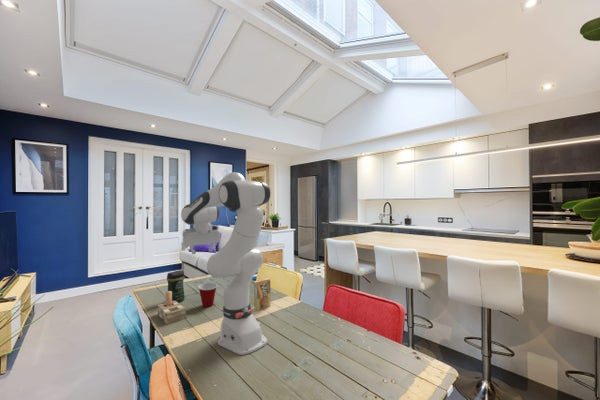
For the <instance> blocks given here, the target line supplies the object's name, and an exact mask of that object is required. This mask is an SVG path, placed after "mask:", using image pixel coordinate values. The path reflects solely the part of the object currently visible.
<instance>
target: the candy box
mask: <svg viewBox="0 0 600 400" xmlns="http://www.w3.org/2000/svg"><path fill="white" fill-rule="evenodd" d="M270 306H271V279H269V278H262V279H259V280H254V281H253V308H254V309H255V310H257V311H258V310H261V309H265V308H267V307H270Z"/></svg>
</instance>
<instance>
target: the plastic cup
mask: <svg viewBox="0 0 600 400" xmlns="http://www.w3.org/2000/svg"><path fill="white" fill-rule="evenodd" d="M197 288H198V290H199V294H200V300H201V305H202V307H203V308H210V307H213V306H214V301H215V296H216V290H217V288H218V284H217V283H216V282H204V283H201V284H199V285H198V286H197Z"/></svg>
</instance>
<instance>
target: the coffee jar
mask: <svg viewBox="0 0 600 400" xmlns="http://www.w3.org/2000/svg"><path fill="white" fill-rule="evenodd" d="M166 280H167V292H168V291H172V301H176V302H178V303H180V302H183V301H185V290H184V280H185V272H184V270H181V269H178V270H175V271H172V272H168V273H167V276H166Z"/></svg>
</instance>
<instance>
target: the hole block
mask: <svg viewBox="0 0 600 400" xmlns="http://www.w3.org/2000/svg"><path fill="white" fill-rule="evenodd" d="M186 309H187V308H186V307H184V306H183V305H182V304H180V302H176V301H172V306H169V307H166V302H164V303H161V304H157V315H158V316H159V317H160V318H161V319H162V321H164V322H165V324H167V325H169V324H172V323H174V322H178V321H181V320H184V319H186V317H187V316H186V315H187V312H186V311H187V310H186Z"/></svg>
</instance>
